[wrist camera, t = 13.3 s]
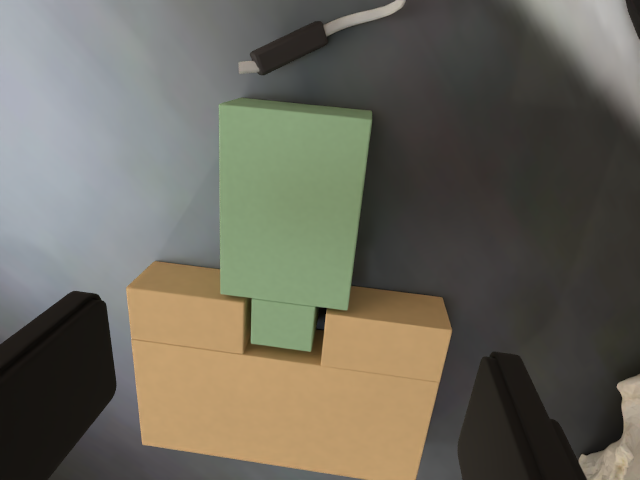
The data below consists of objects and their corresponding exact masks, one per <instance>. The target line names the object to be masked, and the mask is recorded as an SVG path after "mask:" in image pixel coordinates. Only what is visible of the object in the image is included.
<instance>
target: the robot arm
mask: <svg viewBox="0 0 640 480" xmlns="http://www.w3.org/2000/svg"><path fill="white" fill-rule="evenodd" d="M115 391H116V376H115V369H114V361H113V353H112V345H111V338H110V330H109V322H108V314H107V307H106V303H105V302H104V301H101V298H100V296H99V295H97V294H93V293H87V292H80V291H72V292H71V293H69V294H67V295H66V296H65V297H63V298H62V299H61V300H59V301H58V302H57V303H55V304H54V305H53V306H51V307H50V308H49V309H47V310H46V311H45V312H43V313H42V314H41V315H39V316H38V317H37V318H35V319H34V320H33V321H31V322H30V323H29V324H27V325H26V326H24V327H23V328H22V329H20V330H19V331H18V332H16V333H15V334H14V335H12V336H11V337H10V338H8V339H7V340H6V341H4V342H3V343H2V344H0V480H48V478H49V477H50V476H51V475H52V473H53V472H54V471H55V470H56V468H57V467H58V466H59V465H60V463H61V462H62V461H63V460H64V458H65V457H66V456H67V455H68V453H69V452H70V451H71V450H72V448H73V447H74V446H75V445H76V443H77V442H78V441H79V440H80V438H81V437H82V436H83V434H84V433H85V432H86V431H87V429H88V428H89V427H90V426H91V424H92V423H93V422H94V421H95V419H96V418H97V417H98V416H99V414H100V413H101V412H102V411H103V409H104V408H105V407H106V406H107V404H108V403H109V402H110V401H111V399H112V398H113V396H114V394H115ZM458 459H459V464H460V469H461V474H462V479H463V480H587V478H586V476H585V474H584V472H583V470H582V468H581V466H580V464H579V462H578V460H577V458H576V456H575V454H574V452H573V450H572V448H571V446H570V444H569V442H568V440H567V438H566V436H565V434H564V432H563V430H562V428H561V426H560V425H559V423H558V422H556V421H555V420H553V419H549V416H548V414H547V412H546V410H545V408H544V406H543V404H542V402H541V399H540V397H539V395H538V393H537V391H536V389H535V387H534V385H533V383H532V380H531V378H530V376H529V374H528V372H527V370H526V368H525V366H524V363H523V361H522V359H521V358H520V356H518V355H514V354H507V353H500V352H492V353H491V355H490V357H483V358H482V360H481V362H480V366H479V370H478V373H477V377H476V380H475V384H474V387H473V391H472V394H471V398H470V401H469V405H468V409H467V412H466V416H465V419H464V423H463V426H462V430H461V433H460V437H459V441H458Z"/></svg>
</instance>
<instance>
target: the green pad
mask: <svg viewBox="0 0 640 480" xmlns="http://www.w3.org/2000/svg"><path fill="white" fill-rule="evenodd" d="M371 127H372V111H369V110H359V109H349V108H339V107H329V106H319V105H309V104H299V103H289V102H279V101H269V100H258V99H248V98H238V99H235V100H232V101H228V102H225V103H221V104H219V167H220V293H221V294H224V295H232V296H239V297H247V298H252V311H251V344H257V345H265V346H272V347H279V348H286V349H294V350H301V351H308V352H311V350H312V345H313V340H314V335H315V330H316V325H317V321H318V313H319V307H323V308H331V309H339V310H348V306H349V298H350V290H351V282H352V275H353V267H354V259H355V251H356V243H357V236H358V228H359V220H360V212H361V205H362V197H363V189H364V181H365V173H366V166H367V158H368V150H369V142H370V134H371Z"/></svg>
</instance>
